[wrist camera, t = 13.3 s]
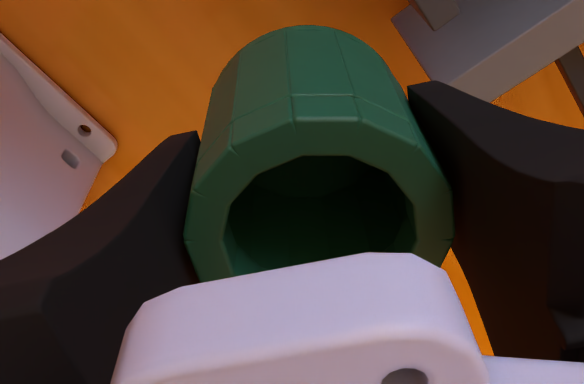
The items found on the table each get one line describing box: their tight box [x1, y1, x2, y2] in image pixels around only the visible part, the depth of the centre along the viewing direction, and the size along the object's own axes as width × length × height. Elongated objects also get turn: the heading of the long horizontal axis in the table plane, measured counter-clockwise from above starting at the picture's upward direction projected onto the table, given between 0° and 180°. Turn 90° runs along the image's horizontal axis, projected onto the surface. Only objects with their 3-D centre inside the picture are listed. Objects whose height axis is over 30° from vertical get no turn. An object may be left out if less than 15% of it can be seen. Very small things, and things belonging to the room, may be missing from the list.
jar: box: [183, 25, 455, 283], centre depth 12 cm, size 5×5×5 cm
